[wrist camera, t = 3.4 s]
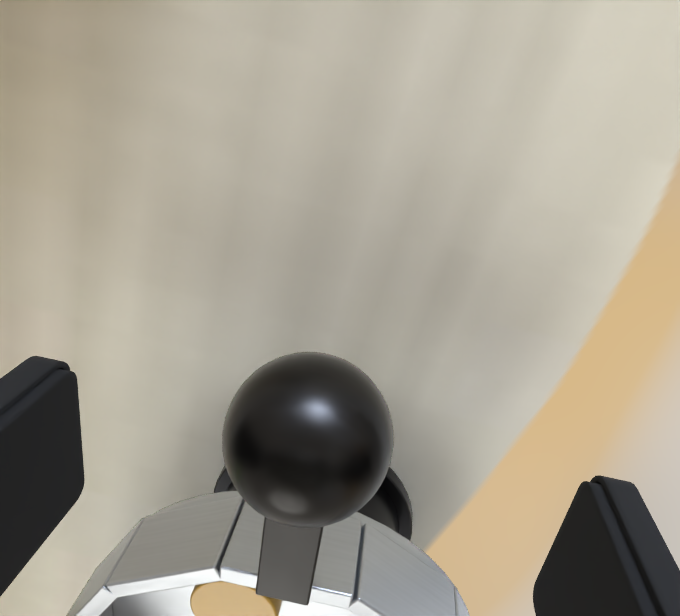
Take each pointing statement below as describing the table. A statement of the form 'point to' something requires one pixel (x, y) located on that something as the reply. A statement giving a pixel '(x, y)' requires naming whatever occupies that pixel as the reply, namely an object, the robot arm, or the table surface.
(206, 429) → the table surface
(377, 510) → the stand
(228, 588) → the key
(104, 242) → the table surface
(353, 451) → the grey pan
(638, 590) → the robot arm
